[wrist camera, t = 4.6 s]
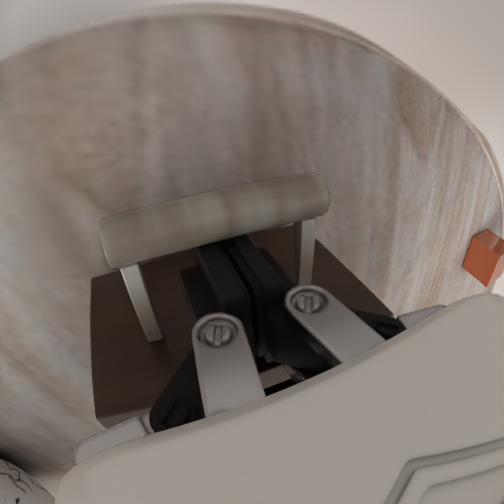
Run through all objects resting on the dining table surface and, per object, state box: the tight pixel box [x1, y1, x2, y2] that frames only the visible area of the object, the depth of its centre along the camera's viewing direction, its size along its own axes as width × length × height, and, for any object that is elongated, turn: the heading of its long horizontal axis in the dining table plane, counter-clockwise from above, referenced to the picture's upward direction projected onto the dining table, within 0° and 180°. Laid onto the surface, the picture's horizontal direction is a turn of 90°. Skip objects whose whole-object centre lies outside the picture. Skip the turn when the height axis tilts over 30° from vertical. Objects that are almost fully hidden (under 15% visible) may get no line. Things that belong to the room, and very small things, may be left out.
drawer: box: [90, 172, 394, 429], centre depth 15 cm, size 18×11×8 cm, turn 3°
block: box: [462, 229, 504, 287], centre depth 30 cm, size 4×4×4 cm
